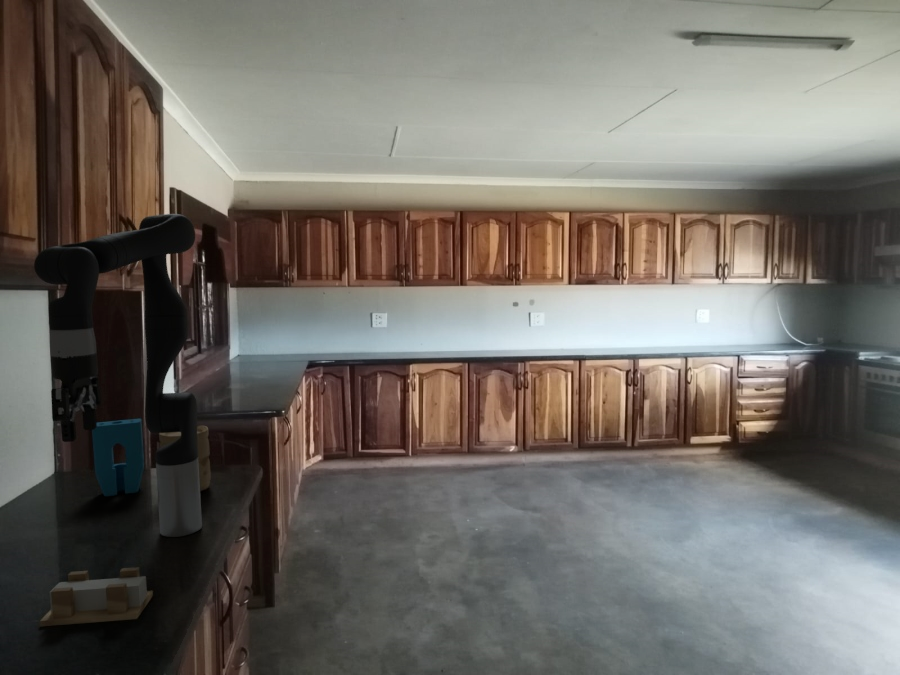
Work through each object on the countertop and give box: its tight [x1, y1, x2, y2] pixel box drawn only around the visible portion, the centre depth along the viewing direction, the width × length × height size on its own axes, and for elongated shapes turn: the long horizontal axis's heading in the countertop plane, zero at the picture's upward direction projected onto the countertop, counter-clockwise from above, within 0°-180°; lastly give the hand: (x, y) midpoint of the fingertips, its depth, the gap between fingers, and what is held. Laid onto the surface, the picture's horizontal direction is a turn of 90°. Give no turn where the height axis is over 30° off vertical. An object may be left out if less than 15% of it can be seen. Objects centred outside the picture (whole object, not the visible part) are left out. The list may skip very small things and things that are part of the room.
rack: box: [39, 566, 154, 627], centre depth 111 cm, size 8×16×6 cm, turn 97°
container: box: [158, 425, 212, 492], centre depth 170 cm, size 13×13×18 cm
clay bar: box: [48, 575, 148, 614], centre depth 111 cm, size 4×15×4 cm, turn 97°
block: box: [91, 418, 145, 497], centre depth 171 cm, size 12×5×20 cm, turn 113°
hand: (80, 435), depth 118 cm, fingers open, 8 cm apart
